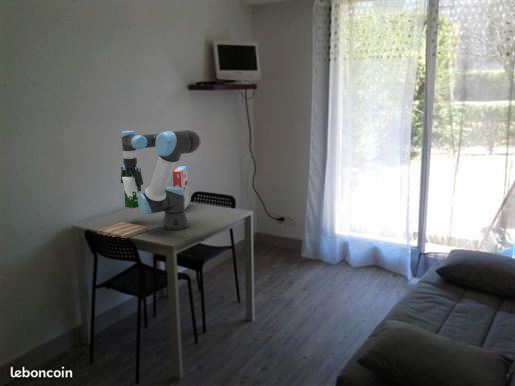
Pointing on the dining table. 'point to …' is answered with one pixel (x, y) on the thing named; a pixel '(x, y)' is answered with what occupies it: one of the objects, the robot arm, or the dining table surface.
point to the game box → (181, 181)
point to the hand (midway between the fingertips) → (132, 195)
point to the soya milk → (130, 191)
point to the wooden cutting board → (122, 230)
